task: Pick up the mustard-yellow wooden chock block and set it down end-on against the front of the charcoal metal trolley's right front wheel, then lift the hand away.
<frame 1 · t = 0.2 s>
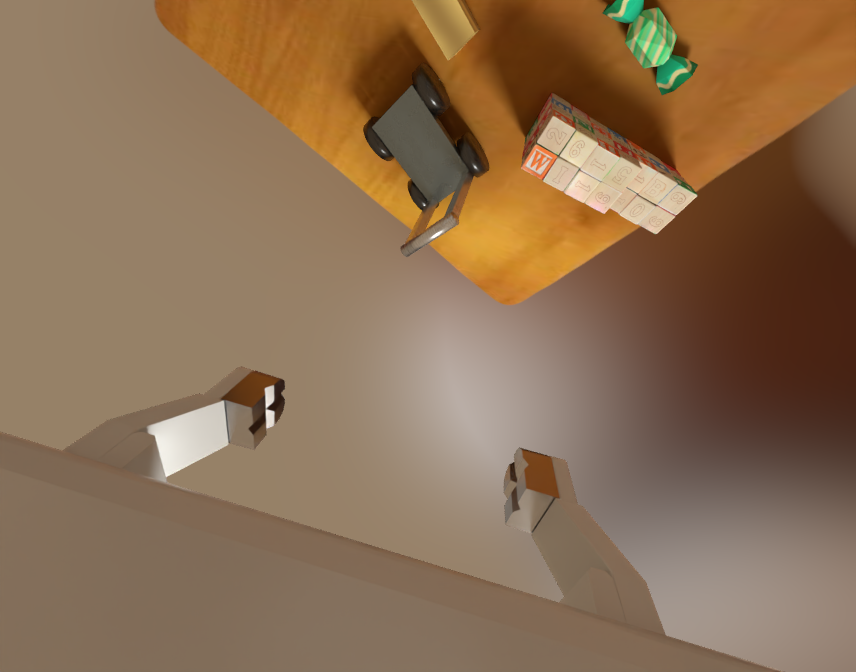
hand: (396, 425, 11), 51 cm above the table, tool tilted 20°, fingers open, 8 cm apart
candy: (647, 37, 39), on the table
stack of blocks: (599, 152, 48), on the table
trolley: (431, 141, 52), on the table
chock: (448, 9, 41), on the table
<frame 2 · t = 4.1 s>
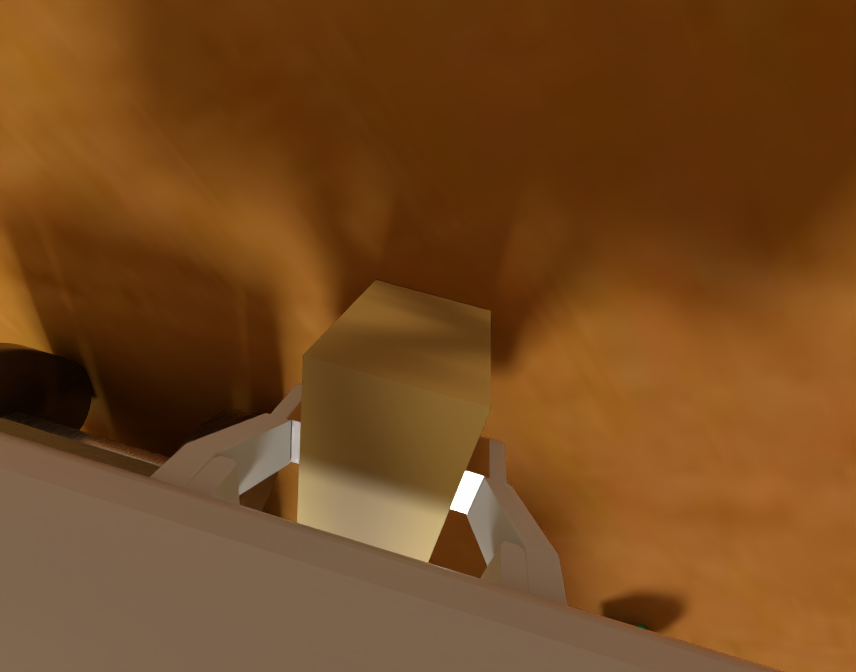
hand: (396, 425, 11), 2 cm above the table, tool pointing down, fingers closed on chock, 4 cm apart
trolley: (184, 472, 18), on the table
chock: (410, 387, 13), on the table, touching gripper
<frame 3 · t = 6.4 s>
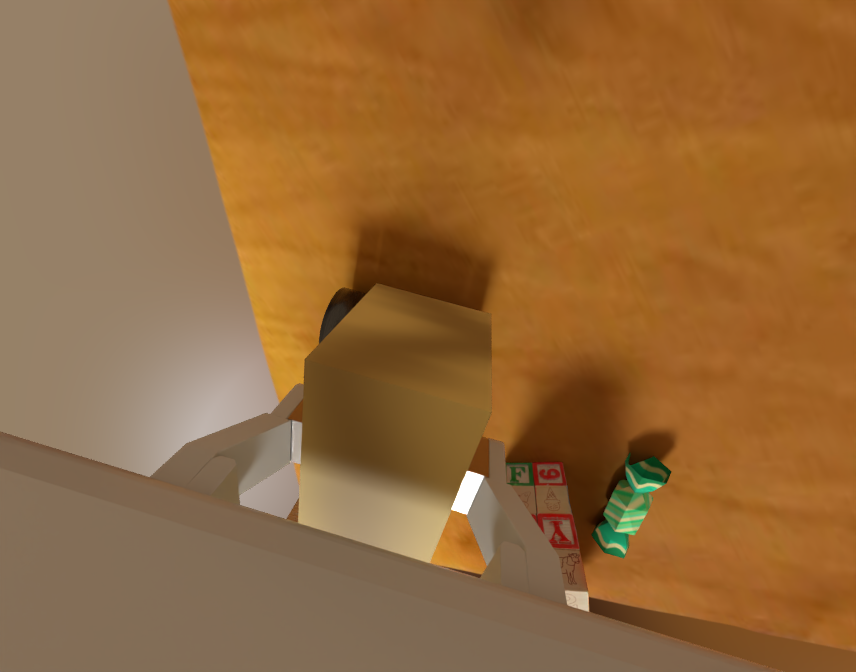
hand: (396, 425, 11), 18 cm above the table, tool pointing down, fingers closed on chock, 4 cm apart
candy: (621, 490, 35), on the table
stack of blocks: (539, 522, 40), on the table
trolley: (400, 369, 33), on the table
chock: (411, 389, 13), point 16 cm above the table, touching gripper
when the fingers open (4 cm above the table, at t = 9.2 s): chock drops 2 cm, on the table.
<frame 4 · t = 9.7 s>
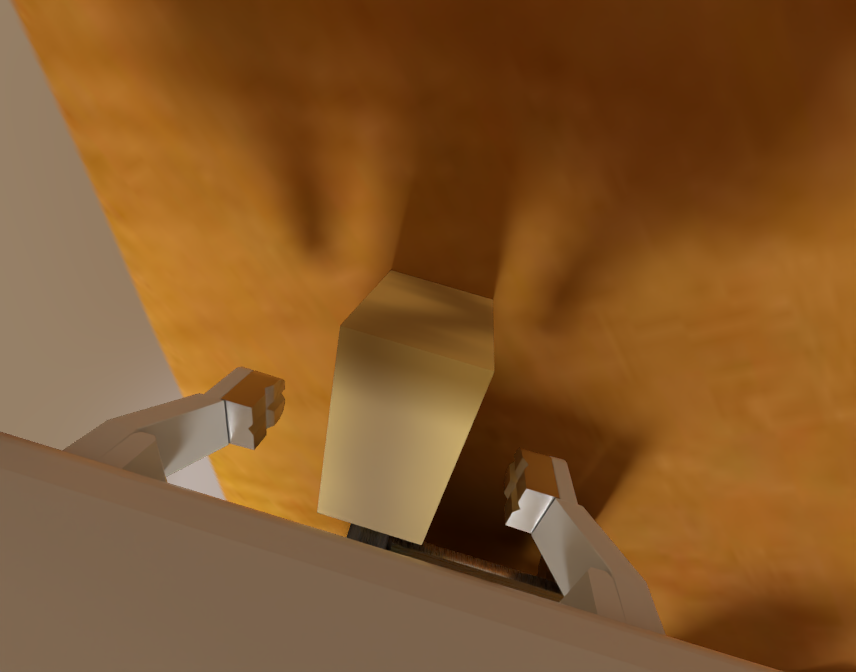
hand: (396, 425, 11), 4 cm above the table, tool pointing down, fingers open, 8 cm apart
trolley: (452, 558, 21), on the table
chock: (418, 367, 15), on the table
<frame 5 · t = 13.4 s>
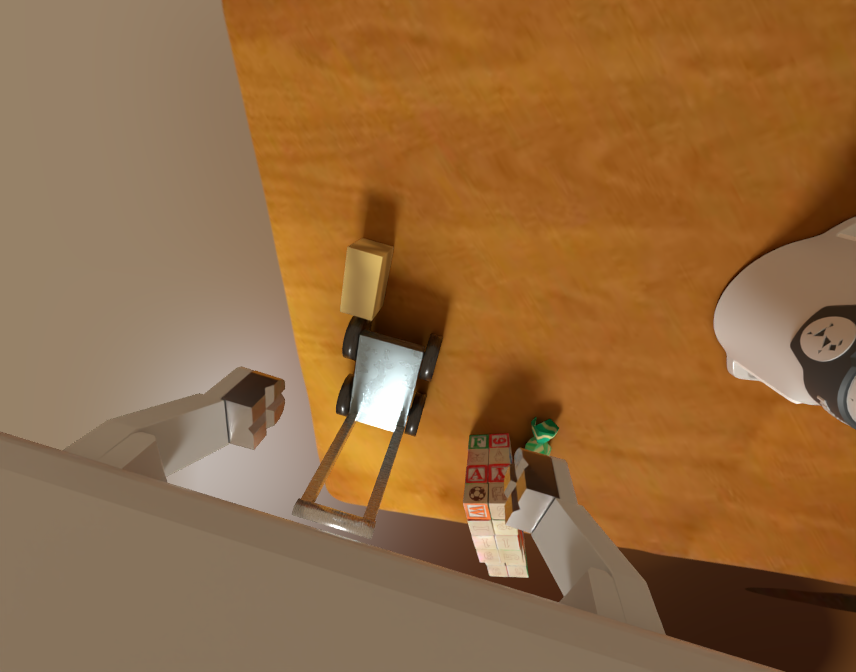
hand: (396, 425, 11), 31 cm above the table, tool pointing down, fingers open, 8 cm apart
candy: (534, 445, 51), on the table
stack of blocks: (497, 479, 56), on the table
trolley: (393, 365, 48), on the table
chock: (373, 272, 42), on the table
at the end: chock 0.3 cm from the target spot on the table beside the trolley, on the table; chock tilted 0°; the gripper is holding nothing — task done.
